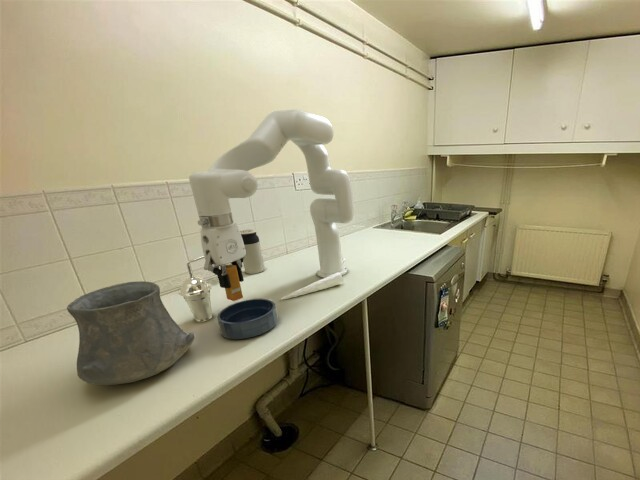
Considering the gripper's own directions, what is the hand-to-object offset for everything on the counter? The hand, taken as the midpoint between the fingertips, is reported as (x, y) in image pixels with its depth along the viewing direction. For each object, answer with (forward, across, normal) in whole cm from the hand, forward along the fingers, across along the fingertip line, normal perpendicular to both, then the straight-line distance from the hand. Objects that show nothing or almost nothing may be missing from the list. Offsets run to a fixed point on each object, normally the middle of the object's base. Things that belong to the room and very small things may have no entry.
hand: (232, 283), depth 89 cm
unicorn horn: (+14, +27, -9) cm, 32 cm away
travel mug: (+14, +41, +29) cm, 52 cm away
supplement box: (+5, 0, 0) cm, 5 cm away
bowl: (+14, 0, -3) cm, 14 cm away
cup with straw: (+14, +1, +15) cm, 20 cm away
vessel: (+14, -22, +8) cm, 27 cm away
